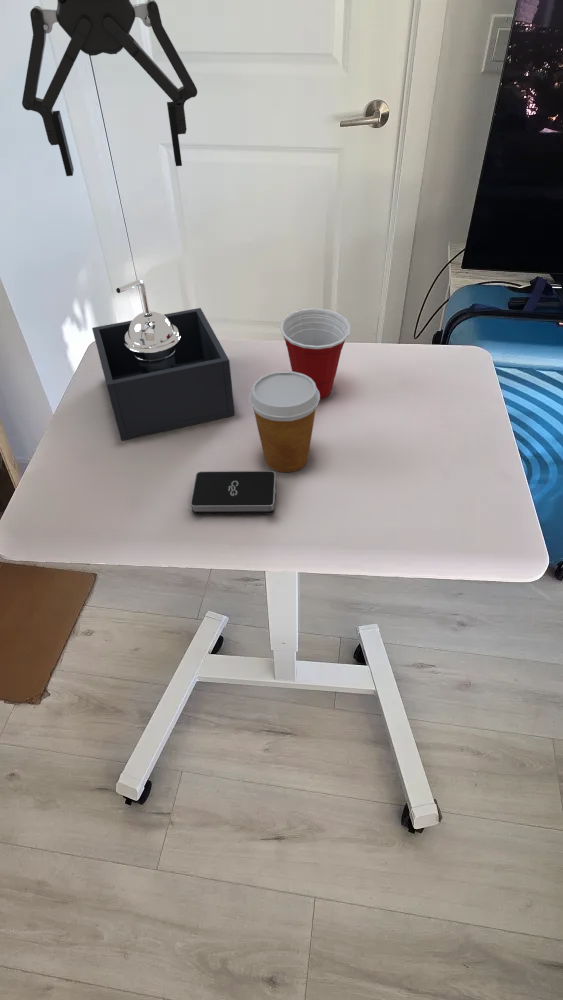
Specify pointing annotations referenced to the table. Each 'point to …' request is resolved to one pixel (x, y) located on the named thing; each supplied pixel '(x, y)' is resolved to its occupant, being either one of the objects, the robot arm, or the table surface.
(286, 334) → the plastic cup
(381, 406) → the table surface
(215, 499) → the external hard drive
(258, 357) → the table surface
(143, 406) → the bin
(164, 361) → the cup with straw
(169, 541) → the table surface
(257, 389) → the disposable coffee cup
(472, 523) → the table surface
